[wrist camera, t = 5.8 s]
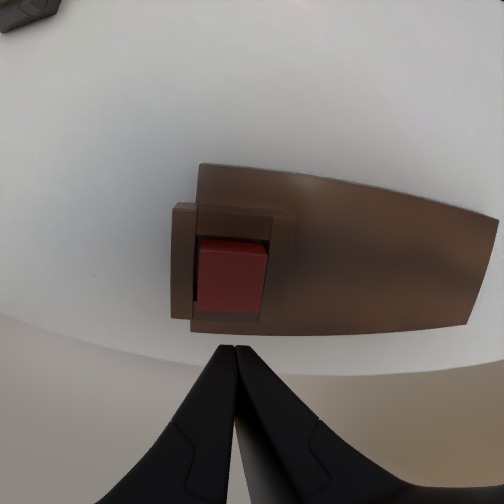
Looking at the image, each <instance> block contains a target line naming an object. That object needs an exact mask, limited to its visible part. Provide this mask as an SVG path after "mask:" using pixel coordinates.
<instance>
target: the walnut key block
mask: <svg viewBox="0 0 504 504" xmlns="http://www.w3.org/2000/svg"><path fill="white" fill-rule="evenodd" d="M498 224H499V220H498V219H495V218H492V217H489V216H487V215H484V214H481V213H478V212H474V211H471V210H468V209H464V208H461V207H457V206H454V205H450V204H446V203H443V202H439V201H435V200H431V199H427V198H423V197H419V196H415V195H411V194H407V193H402V192H398V191H393V190H389V189H384V188H379V187H374V186H369V185H364V184H359V183H354V182H349V181H343V180H337V179H332V178H326V177H319V176H313V175H306V174H300V173H293V172H285V171H278V170H270V169H261V168H252V167H243V166H233V165H222V164H210V163H201V164H199V171H198V182H197V194H196V203H182V202H179V203H177V204H176V206H175V207H174V208H173V211H172V233H171V277H170V297H171V318H176V319H188V320H190V331H191V332H198V333H213V334H232V335H261V336H329V335H357V334H376V333H390V332H403V331H414V330H424V329H434V328H442V327H451V326H458V325H465V324H467V322H468V319H469V317H470V314H471V312H472V309H473V307H474V304H475V302H476V299H477V296H478V293H479V291H480V288H481V285H482V282H483V279H484V276H485V273H486V270H487V266H488V263H489V260H490V256H491V252H492V249H493V245H494V241H495V237H496V233H497V228H498ZM202 239H213V240H226V241H239V242H252V243H262V244H263V246H264V248H265V251H266V253H267V255H268V258H267V265H266V272H265V279H264V286H263V293H262V300H261V307H260V312H259V313H247V312H227V311H211V310H198V309H197V288H198V267H199V250H200V245H201V240H202Z"/></svg>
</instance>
